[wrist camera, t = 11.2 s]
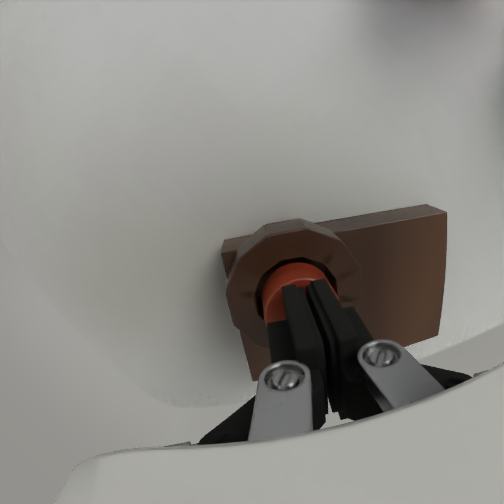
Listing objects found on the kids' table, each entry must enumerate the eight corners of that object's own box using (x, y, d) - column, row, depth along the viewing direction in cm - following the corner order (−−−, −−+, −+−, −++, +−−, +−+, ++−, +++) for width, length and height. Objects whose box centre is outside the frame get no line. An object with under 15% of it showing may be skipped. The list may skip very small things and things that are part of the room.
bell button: (267, 328, 14) (270, 351, 12) (256, 268, 13) (257, 286, 11) (331, 315, 14) (341, 336, 12) (325, 255, 13) (337, 271, 11)
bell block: (251, 358, 19) (253, 403, 15) (220, 222, 16) (212, 245, 12) (422, 319, 18) (452, 350, 14) (425, 188, 15) (467, 200, 12)
